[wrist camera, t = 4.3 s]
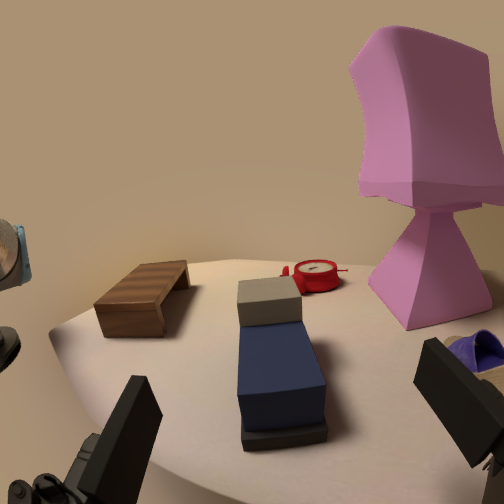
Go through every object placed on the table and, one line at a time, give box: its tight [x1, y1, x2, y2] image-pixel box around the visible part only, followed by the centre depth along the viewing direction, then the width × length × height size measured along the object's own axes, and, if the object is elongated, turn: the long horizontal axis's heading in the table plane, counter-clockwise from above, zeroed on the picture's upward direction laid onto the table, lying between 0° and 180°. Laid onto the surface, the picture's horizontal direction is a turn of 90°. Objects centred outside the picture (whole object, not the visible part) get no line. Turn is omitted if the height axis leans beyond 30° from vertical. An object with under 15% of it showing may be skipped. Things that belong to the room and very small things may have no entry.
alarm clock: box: [280, 260, 348, 294], centre depth 57 cm, size 10×6×15 cm
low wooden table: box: [93, 260, 191, 337], centre depth 52 cm, size 24×12×6 cm, turn 1°
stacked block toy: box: [237, 276, 328, 451], centre depth 28 cm, size 20×8×10 cm, turn 1°
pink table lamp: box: [349, 26, 504, 331], centre depth 38 cm, size 22×22×45 cm
